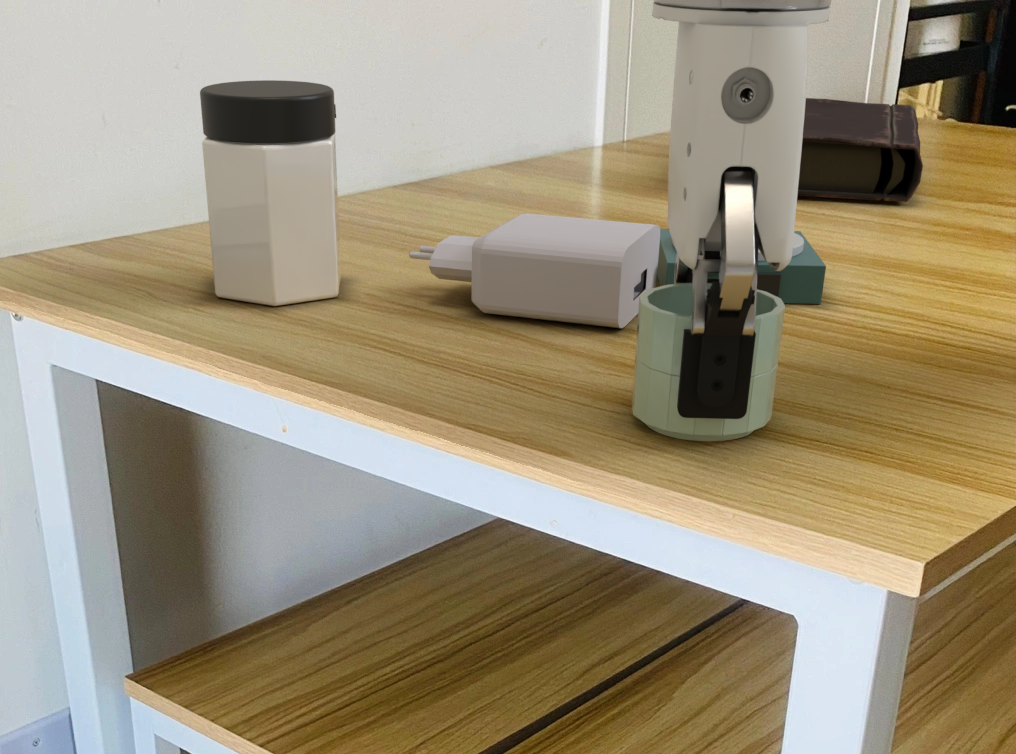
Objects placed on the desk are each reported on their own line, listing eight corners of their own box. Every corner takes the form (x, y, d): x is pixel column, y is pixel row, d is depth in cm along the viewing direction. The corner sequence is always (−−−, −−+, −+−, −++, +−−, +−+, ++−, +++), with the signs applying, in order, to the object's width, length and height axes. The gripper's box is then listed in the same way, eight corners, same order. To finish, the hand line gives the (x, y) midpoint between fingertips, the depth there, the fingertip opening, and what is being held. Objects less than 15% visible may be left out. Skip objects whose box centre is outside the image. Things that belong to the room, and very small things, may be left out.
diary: (912, 157, 135) (921, 101, 132) (916, 206, 114) (927, 141, 112) (722, 147, 139) (727, 93, 136) (693, 193, 118) (698, 130, 116)
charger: (441, 274, 93) (656, 296, 89) (387, 308, 86) (618, 334, 81) (441, 201, 91) (662, 220, 86) (385, 229, 83) (623, 251, 79)
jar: (371, 283, 91) (365, 86, 85) (303, 312, 85) (291, 101, 78) (259, 267, 94) (245, 76, 88) (186, 294, 88) (166, 90, 82)
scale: (796, 266, 96) (801, 222, 95) (821, 305, 87) (828, 257, 86) (653, 263, 96) (656, 219, 95) (664, 302, 88) (668, 254, 86)
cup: (758, 401, 71) (773, 284, 68) (778, 448, 65) (794, 321, 62) (627, 398, 71) (636, 281, 68) (635, 444, 66) (644, 318, 62)
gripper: (874, -4, 51) (808, 455, 60) (799, -30, 65) (755, 341, 75) (671, -7, 51) (636, 451, 60) (641, -32, 66) (617, 338, 75)
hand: (703, 387), depth 67 cm, fingers closed on cup, 6 cm apart
